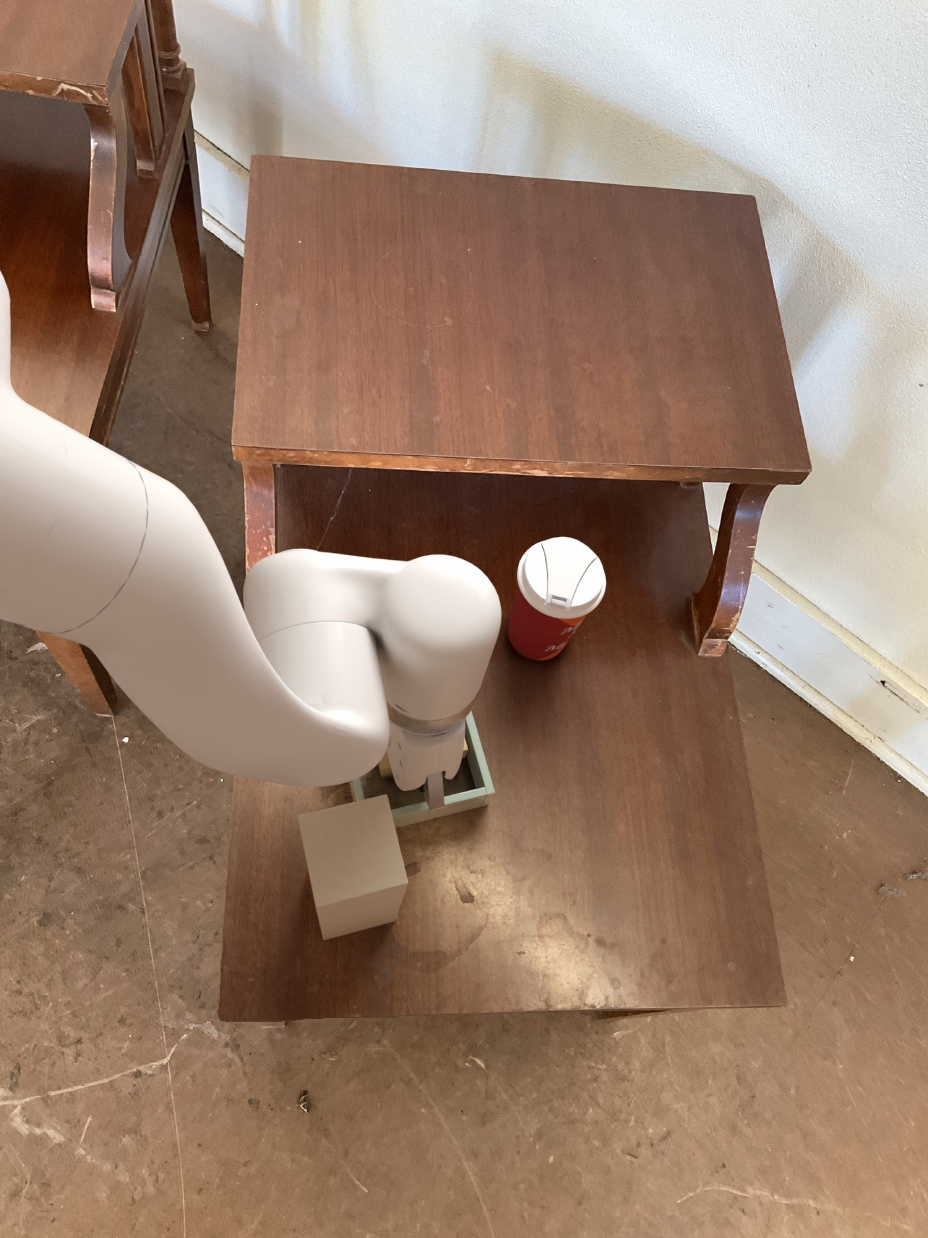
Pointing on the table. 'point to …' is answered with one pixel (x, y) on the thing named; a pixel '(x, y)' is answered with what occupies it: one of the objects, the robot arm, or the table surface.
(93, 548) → the robot arm
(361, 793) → the divided tray
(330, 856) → the block
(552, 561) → the paper cup
